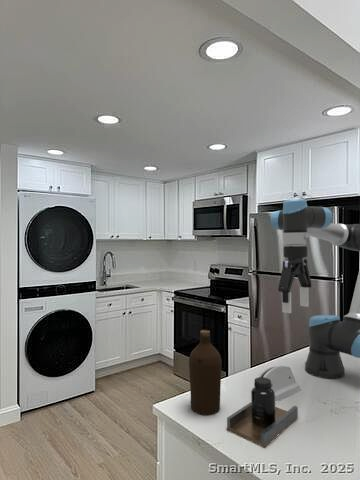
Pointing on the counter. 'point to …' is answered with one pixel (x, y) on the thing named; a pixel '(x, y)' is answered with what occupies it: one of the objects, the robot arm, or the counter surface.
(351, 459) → the counter surface
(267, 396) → the supplement bottle
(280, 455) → the counter surface
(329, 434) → the counter surface
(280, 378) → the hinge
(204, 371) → the olive oil
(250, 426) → the floor track
